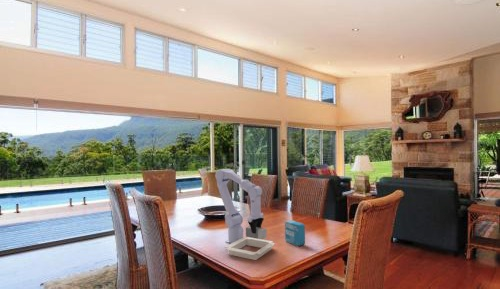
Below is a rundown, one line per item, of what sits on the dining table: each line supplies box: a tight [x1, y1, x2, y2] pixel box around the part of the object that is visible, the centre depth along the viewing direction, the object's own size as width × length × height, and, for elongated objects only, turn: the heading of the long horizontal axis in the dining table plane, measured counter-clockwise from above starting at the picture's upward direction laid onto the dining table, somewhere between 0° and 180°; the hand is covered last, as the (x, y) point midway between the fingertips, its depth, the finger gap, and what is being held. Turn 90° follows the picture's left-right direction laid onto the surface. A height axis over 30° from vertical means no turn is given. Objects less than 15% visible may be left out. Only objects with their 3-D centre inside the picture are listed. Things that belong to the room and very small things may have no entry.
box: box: [245, 225, 268, 240], centre depth 162 cm, size 4×11×5 cm, turn 58°
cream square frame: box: [224, 237, 276, 261], centre depth 154 cm, size 22×21×4 cm
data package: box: [284, 220, 306, 247], centre depth 167 cm, size 12×4×12 cm, turn 36°
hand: (256, 232), depth 162 cm, fingers open, 4 cm apart
